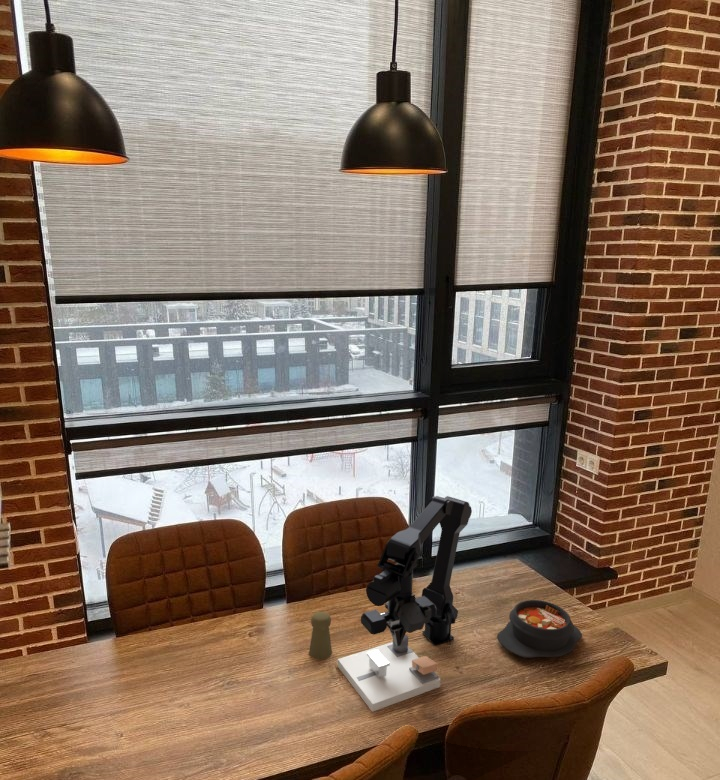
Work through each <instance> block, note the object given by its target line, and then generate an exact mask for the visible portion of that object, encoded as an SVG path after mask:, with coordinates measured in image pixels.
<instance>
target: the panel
mask: <svg viewBox="0 0 720 780" xmlns="http://www.w3.org/2000/svg"><path fill="white" fill-rule="evenodd" d="M374 650H378V651H379V652H380V653H381V654H382V655H383V656H384V657H385V658H386V660H387V661H388V662H389V663H390V665H389V666H387V672H386V676H384V677H381V678H379V677H378V676H377V675H376V674H375V673H374V671H373V670H372V669H371V668H370V667H369V657H368V656H367V652H371V651H374ZM417 658H420V657H419V656H418V655H417V654H416V653H415V652H414V651H413V649H412V648H411V647H410V646H408V650H407V651H406V652H404V653H398V652H395V651H394V650H393V641H391V642H387V643H385V644H381V645H378V646H376V647H372V648H369V649H366V650H361V651H359V652H356V653H353V654H350V655H346V656H343V657H340V658H337V667H338V669H339V670H340V672H341V673H342V674H343V676H344V677H345V678H346V679H347V681H349V683H350V684H351V686H352V687H353V688H354V690H355V691H356V693H357V694H358V695H359V697H361V699H362V700H363V702H364V703H365V704H366V705H367V707H368V708H369V710H370V711H371V712H372V713H373V712H376V711H378V710H381V709H384V708H386V707H389V706H392V705H394V704H397V703H400V702H403V701H406V700H408V699H410V698H413V697H417V696H419V695H422V694H425V693H427V692H430V691H432V690H436V689H438V688H441V681H442V680H441V678H440V675H439V674H438V673H436V671H433V672H430V673H427V674H424V675H423V674H422V673H420V672H419V671H418V670H416V669H415V668H413V667H412V660H414V659H417Z"/></svg>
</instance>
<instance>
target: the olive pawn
mask: <svg viewBox="0 0 720 780" xmlns="http://www.w3.org/2000/svg"><path fill="white" fill-rule="evenodd" d="M310 623H311V626H312V631H311V638H310V643H309V644H310V645H309V648H308V649H309V650H308V654H309V656H310V657H311V658H312V659H315V660H318V661H319V660H321V661H322V660H326V659H329V658H330V657H331V656H332V654H333V651H332V648H333V647H332V642H331V634H330V633H331V632H330V627H331V623H332V617H331V615H330V614H329V613H328V612H326V611H317V612H314V613H313V615H312V616H311V619H310Z"/></svg>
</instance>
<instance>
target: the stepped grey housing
mask: <svg viewBox="0 0 720 780" xmlns="http://www.w3.org/2000/svg"><path fill="white" fill-rule="evenodd" d="M367 656H368V657H369V667H370V668H371V669H372V670H373V671H374V673H375V674H376V675H377V676H378V677H379V678H381V677H384V676H386V672H387V666H389V665H390V663H389V662H388V661H387V660H386V658H385V657H384V656H383V655H382V654H381V653H380V652H379V651H378V650H374V651H371V652H367Z"/></svg>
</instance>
